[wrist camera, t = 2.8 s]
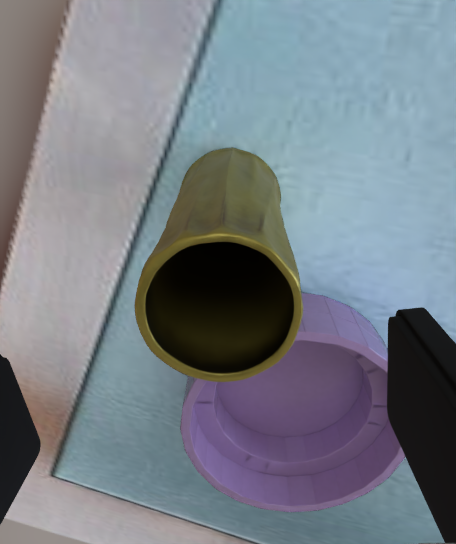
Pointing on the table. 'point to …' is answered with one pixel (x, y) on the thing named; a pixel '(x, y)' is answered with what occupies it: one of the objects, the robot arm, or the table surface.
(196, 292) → the vase
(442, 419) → the robot arm
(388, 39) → the table surface
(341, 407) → the bowl
